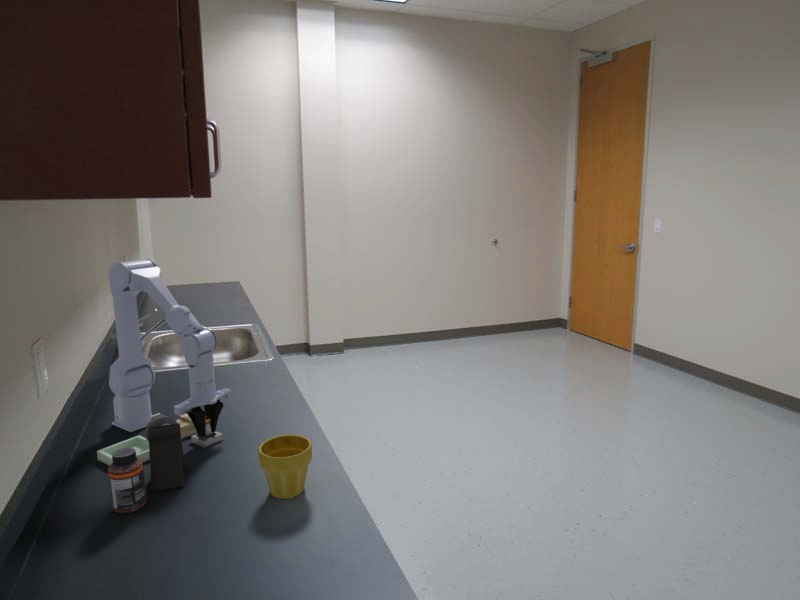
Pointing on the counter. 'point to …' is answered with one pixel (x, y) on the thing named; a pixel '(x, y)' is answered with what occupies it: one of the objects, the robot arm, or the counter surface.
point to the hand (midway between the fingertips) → (206, 433)
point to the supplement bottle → (127, 481)
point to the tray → (136, 442)
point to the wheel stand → (159, 422)
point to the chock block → (186, 426)
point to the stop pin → (207, 428)
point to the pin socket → (207, 442)
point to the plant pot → (285, 464)
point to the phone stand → (166, 457)
